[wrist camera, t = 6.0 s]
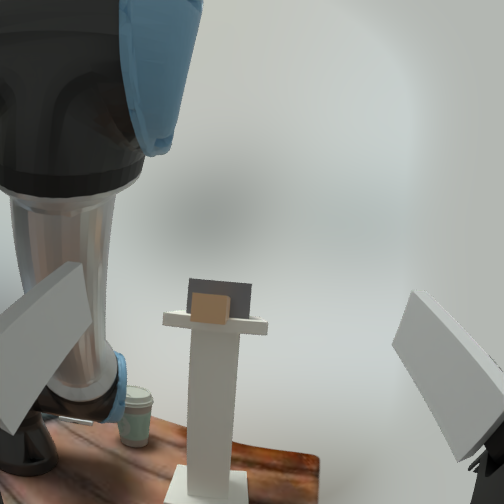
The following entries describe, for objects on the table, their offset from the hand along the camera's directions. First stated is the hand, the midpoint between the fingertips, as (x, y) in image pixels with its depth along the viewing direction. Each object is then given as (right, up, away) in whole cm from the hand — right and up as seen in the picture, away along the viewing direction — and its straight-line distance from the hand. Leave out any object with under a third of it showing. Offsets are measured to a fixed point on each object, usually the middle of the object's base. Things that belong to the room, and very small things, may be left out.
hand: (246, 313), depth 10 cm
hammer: (-4, -5, +23) cm, 24 cm away
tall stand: (-7, -36, +22) cm, 42 cm away
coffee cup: (-24, -37, +35) cm, 56 cm away
